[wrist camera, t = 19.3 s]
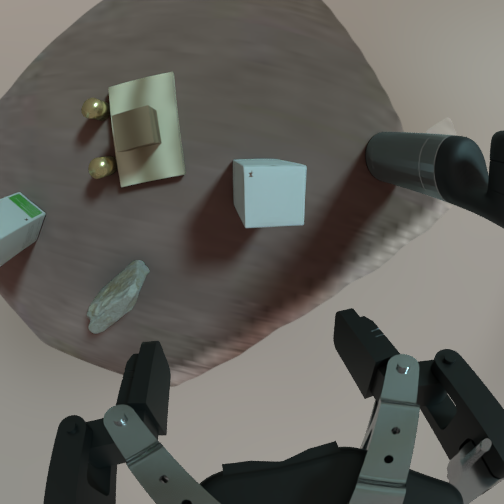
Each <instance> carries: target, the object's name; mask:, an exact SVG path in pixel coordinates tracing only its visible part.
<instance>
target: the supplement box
mask: <svg viewBox="0 0 504 504" xmlns="http://www.w3.org/2000/svg"><path fill="white" fill-rule="evenodd" d="M306 169H307V167H306V166H305V165H302V164H298V163H293V162H289V161H283V160H279V159H240V160H233V198H234V206H235V208H236V210H237V212H238V214H239V216H240V218H241V220H242V222H243V224H244V226H245V228H261V227H279V226H296V225H304V207H305V188H306Z"/></svg>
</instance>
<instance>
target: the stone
mask: <svg viewBox="0 0 504 504" xmlns="http://www.w3.org/2000/svg"><path fill="white" fill-rule="evenodd" d="M149 272H150V271H149V269H148V267H147V266H145V263H144V262H143V261H141V260H134V261H133V262H132V263H131V264H129V265H128V266H127V267H126V268H125V269H124V270H123V271H122V272H121V273H120V274H118V275H117V276H116V277H115V278H114V279H113V280H112V281H110V282H109V283H108V284H107V285H106V286H105V287H103V289H102V290H101V291H100V292H99V293H98V295H97V296H96V297H95V298H94V300H93V301H92V303H91V305H90V307H89V309H88V312H87V317H88V318H89V320H90V324H89V326H88V328H89V330H90V331H91V332H92V333H94V334H97V333H100V332H103V331H104V330H106V329H107V328H108V327H109V326H111V325H112V324H114V323H115V322H116V321H118V320H119V319H120V318H121V317H122V316H123V315H125V314H126V313H127V312H129V311H131V310H132V309H133V307H134V305H135V303H136V301H137V300H138V294H139V292H140V289H141V287H142V285H143V283H144V281H145V278H146V276H147V274H148V273H149Z"/></svg>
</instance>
